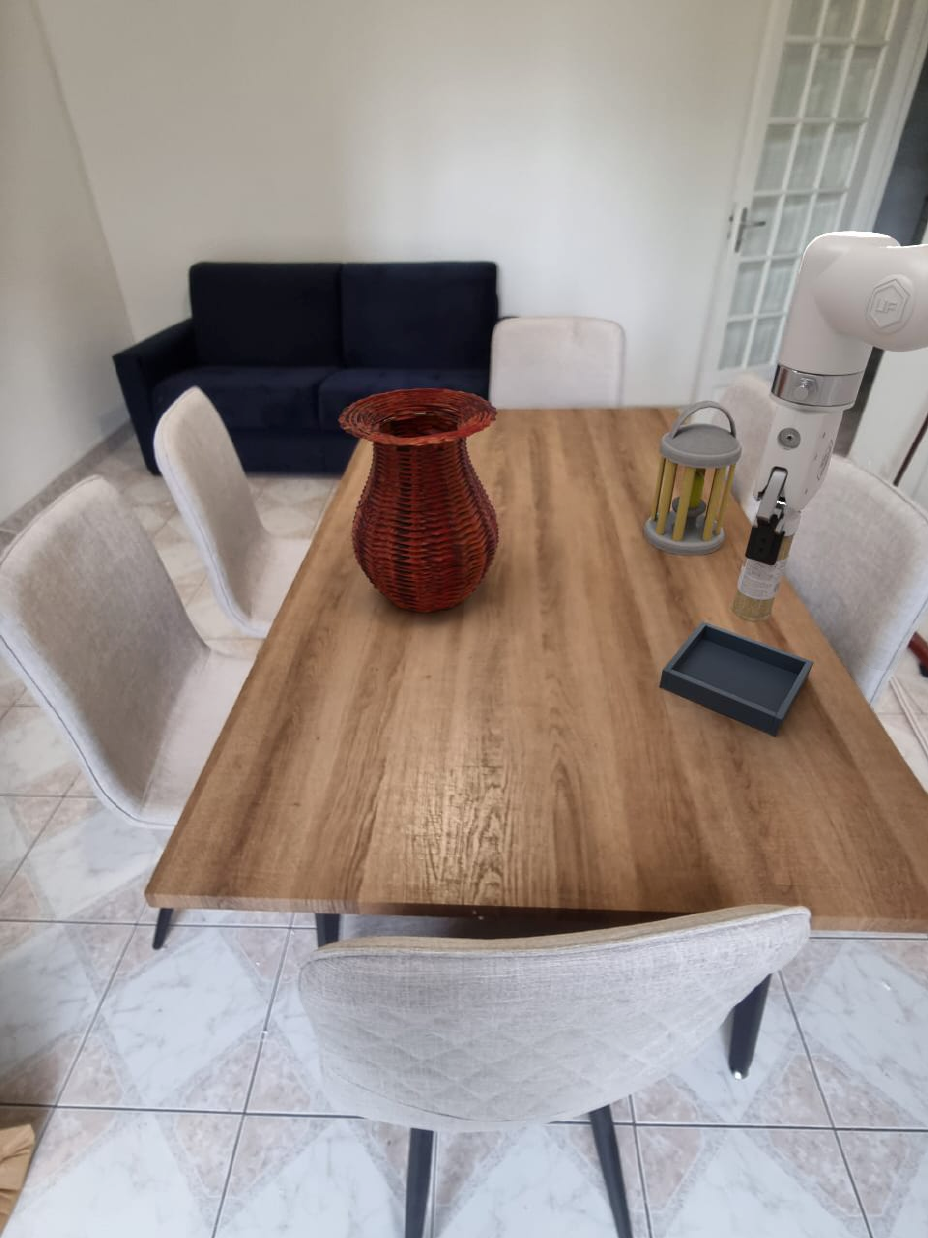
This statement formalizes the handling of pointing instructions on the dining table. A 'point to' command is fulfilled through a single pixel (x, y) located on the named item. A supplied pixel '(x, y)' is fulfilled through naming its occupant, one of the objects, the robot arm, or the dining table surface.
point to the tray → (737, 677)
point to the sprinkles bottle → (763, 577)
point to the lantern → (693, 485)
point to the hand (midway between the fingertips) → (768, 548)
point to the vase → (422, 497)
